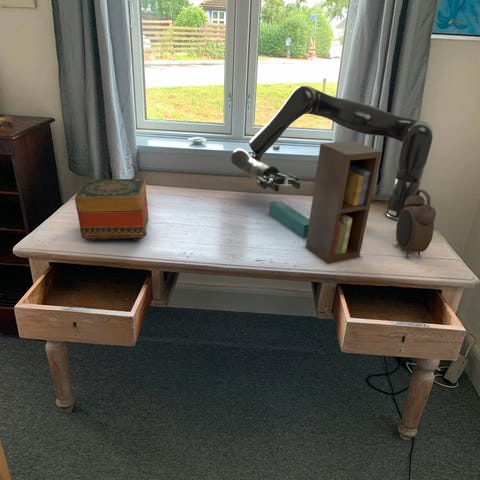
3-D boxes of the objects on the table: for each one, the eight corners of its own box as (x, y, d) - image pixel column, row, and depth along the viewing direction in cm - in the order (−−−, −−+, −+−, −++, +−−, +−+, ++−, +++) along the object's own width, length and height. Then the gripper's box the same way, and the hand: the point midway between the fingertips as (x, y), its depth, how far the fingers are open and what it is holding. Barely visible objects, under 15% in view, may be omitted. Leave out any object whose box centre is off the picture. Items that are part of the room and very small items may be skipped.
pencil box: (268, 214, 175) (270, 202, 172) (279, 212, 176) (280, 201, 174) (302, 237, 159) (304, 225, 156) (314, 235, 161) (315, 223, 158)
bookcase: (305, 247, 152) (320, 143, 135) (335, 241, 157) (353, 140, 140) (328, 263, 144) (347, 154, 126) (359, 257, 149) (381, 151, 131)
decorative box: (142, 252, 145) (145, 198, 137) (69, 241, 144) (67, 187, 135) (154, 228, 163) (157, 180, 154) (88, 219, 161) (88, 169, 153)
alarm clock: (388, 242, 159) (403, 183, 148) (409, 243, 160) (425, 183, 149) (404, 262, 147) (421, 199, 136) (426, 263, 148) (445, 200, 137)
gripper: (248, 164, 170) (271, 178, 159) (282, 161, 176) (307, 174, 165) (246, 185, 174) (269, 200, 163) (280, 181, 180) (304, 195, 169)
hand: (288, 187), depth 164 cm, fingers open, 8 cm apart
